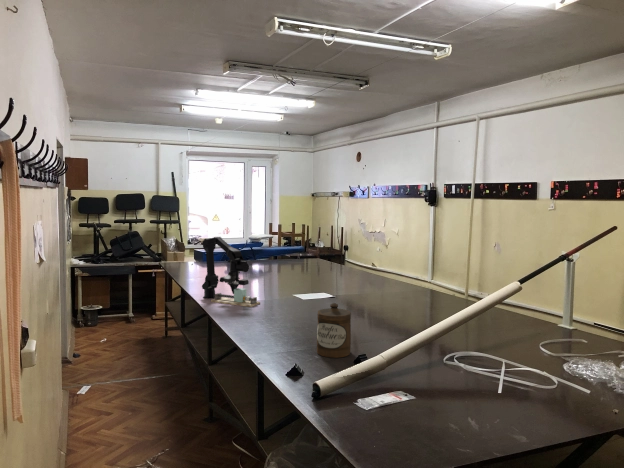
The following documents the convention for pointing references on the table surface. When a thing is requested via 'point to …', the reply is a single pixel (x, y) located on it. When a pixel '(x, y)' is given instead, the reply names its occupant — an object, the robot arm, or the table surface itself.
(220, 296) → the long grey square rod
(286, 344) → the table surface
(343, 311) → the wooden container
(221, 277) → the robot arm
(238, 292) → the pale teal block
